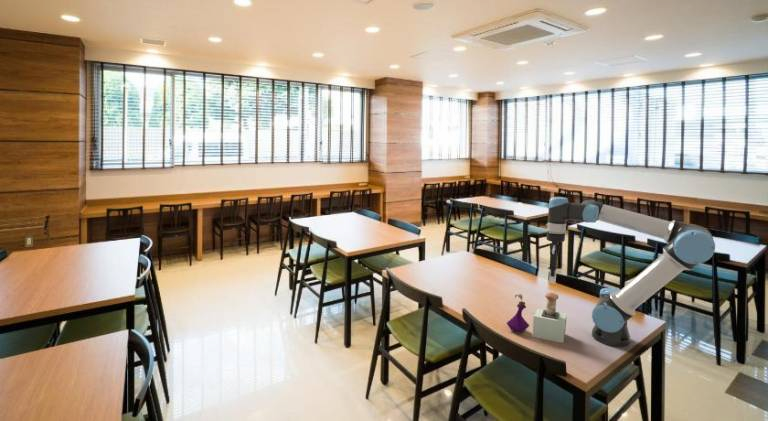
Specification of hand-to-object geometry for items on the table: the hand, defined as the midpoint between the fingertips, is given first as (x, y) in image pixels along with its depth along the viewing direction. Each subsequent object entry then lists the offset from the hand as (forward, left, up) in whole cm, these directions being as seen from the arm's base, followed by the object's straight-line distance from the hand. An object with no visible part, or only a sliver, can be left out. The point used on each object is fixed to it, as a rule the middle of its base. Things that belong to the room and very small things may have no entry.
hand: (552, 282), depth 181 cm
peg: (0, 0, -16) cm, 16 cm away
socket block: (0, 0, -26) cm, 26 cm away
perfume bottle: (+13, +2, -26) cm, 29 cm away
